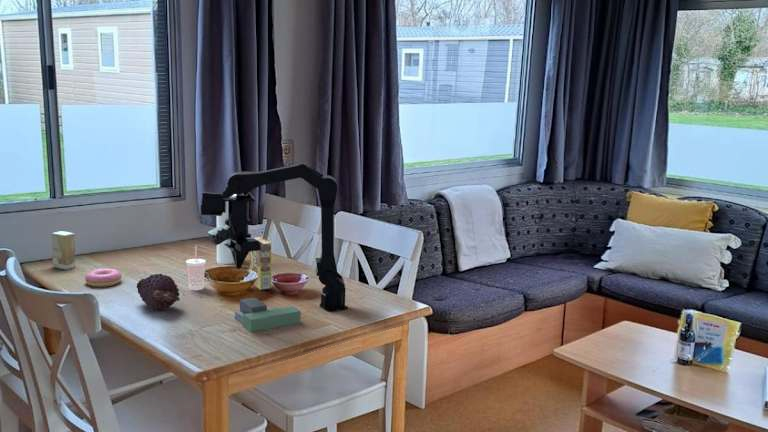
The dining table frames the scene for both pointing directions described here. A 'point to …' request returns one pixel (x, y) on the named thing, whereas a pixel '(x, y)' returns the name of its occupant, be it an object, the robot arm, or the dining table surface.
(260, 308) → the slate gray cuboid
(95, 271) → the doughnut
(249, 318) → the green and blue-gray block
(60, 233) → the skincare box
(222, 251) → the cylindrical container
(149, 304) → the pine cone
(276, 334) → the dining table surface
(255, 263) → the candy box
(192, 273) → the beverage cup
